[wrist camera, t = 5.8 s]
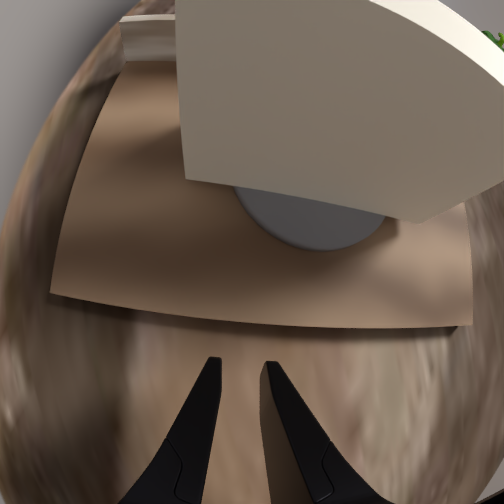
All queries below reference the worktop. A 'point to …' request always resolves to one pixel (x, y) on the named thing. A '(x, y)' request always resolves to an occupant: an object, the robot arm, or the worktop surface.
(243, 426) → the worktop surface
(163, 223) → the shelf board
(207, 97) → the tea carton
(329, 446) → the robot arm
